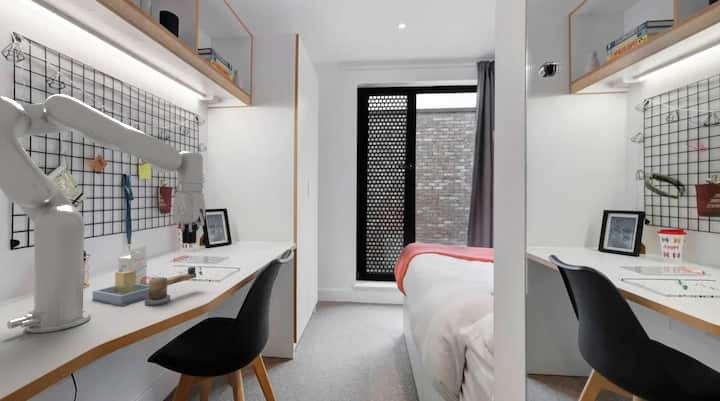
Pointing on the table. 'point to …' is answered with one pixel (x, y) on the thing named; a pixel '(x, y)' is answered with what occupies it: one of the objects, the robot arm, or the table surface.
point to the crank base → (157, 301)
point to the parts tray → (110, 297)
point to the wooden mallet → (167, 283)
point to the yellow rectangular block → (125, 282)
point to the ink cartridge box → (135, 264)
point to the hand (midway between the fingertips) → (189, 242)
